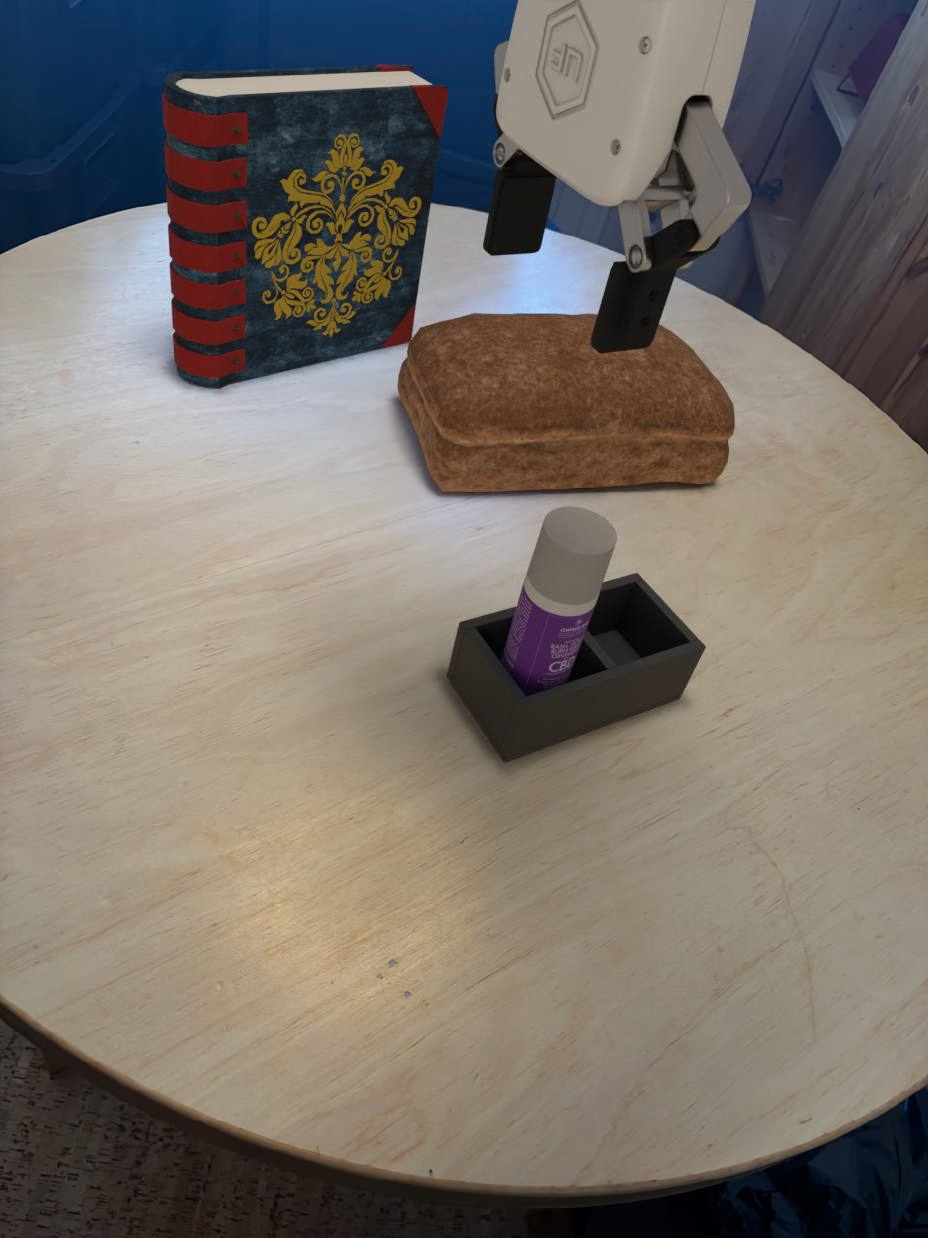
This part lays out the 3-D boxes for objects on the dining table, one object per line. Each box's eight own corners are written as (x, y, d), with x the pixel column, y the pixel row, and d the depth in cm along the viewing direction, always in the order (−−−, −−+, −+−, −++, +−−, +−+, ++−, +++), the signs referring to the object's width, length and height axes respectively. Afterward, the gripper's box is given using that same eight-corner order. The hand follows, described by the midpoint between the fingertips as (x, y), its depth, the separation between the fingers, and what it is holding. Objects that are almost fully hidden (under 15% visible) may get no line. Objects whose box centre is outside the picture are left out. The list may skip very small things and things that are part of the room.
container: (537, 734, 64) (597, 567, 53) (479, 698, 65) (526, 529, 55) (570, 694, 67) (632, 529, 57) (514, 661, 68) (564, 494, 58)
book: (195, 396, 86) (188, 101, 69) (159, 358, 90) (144, 68, 73) (414, 344, 100) (454, 87, 83) (376, 313, 103) (406, 60, 86)
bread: (725, 491, 90) (773, 386, 82) (429, 501, 81) (451, 384, 73) (654, 393, 101) (689, 292, 94) (386, 392, 92) (401, 280, 84)
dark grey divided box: (680, 698, 69) (706, 646, 66) (504, 762, 62) (522, 709, 59) (616, 624, 74) (637, 571, 70) (445, 676, 67) (458, 621, 63)
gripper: (470, -210, 37) (412, 223, 49) (759, -114, 27) (600, 402, 39) (620, -181, 41) (533, 218, 52) (926, -85, 31) (734, 381, 42)
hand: (562, 296), depth 46 cm, fingers open, 9 cm apart
